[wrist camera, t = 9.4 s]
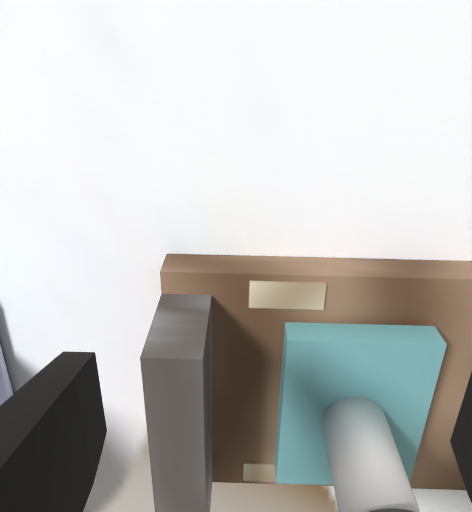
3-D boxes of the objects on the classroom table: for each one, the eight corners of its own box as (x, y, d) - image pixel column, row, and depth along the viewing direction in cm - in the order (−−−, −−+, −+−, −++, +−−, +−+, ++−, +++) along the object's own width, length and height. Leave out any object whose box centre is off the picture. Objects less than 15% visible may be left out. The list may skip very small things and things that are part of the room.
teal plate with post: (274, 460, 22) (285, 634, 15) (284, 322, 18) (304, 473, 12) (400, 465, 22) (462, 641, 15) (435, 326, 18) (534, 480, 12)
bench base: (178, 454, 24) (160, 563, 19) (166, 253, 19) (137, 331, 14) (515, 464, 24) (585, 578, 19) (597, 264, 19) (725, 347, 14)
